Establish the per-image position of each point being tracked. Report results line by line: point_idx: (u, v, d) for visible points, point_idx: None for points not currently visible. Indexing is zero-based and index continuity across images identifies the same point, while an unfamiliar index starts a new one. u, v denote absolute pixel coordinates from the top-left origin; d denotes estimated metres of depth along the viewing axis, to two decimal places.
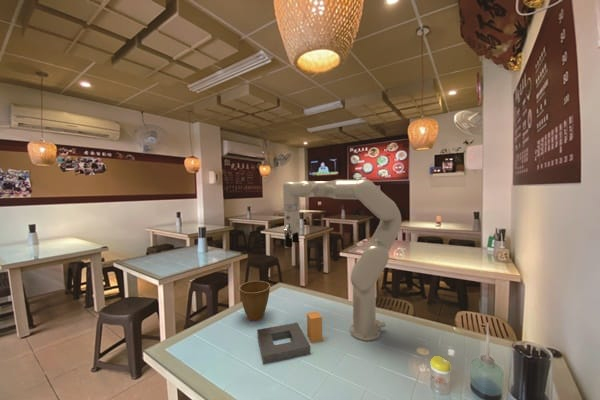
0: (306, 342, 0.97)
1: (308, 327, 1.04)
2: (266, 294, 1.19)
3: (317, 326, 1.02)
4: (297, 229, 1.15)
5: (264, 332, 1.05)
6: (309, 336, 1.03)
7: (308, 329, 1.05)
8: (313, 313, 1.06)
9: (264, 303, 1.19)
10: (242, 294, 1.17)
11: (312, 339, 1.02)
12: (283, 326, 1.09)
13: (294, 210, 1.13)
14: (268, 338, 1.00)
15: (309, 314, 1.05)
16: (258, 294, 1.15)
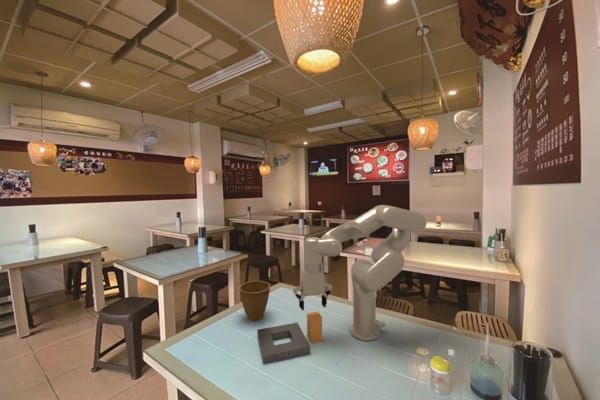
0: (306, 342, 0.97)
1: (308, 327, 1.04)
2: (266, 294, 1.19)
3: (318, 326, 1.02)
4: None
5: (264, 332, 1.05)
6: (309, 336, 1.03)
7: (308, 329, 1.05)
8: (313, 313, 1.06)
9: (264, 303, 1.19)
10: (242, 294, 1.17)
11: (312, 339, 1.02)
12: (283, 326, 1.09)
13: None
14: (268, 338, 1.00)
15: (309, 314, 1.05)
16: (258, 294, 1.15)
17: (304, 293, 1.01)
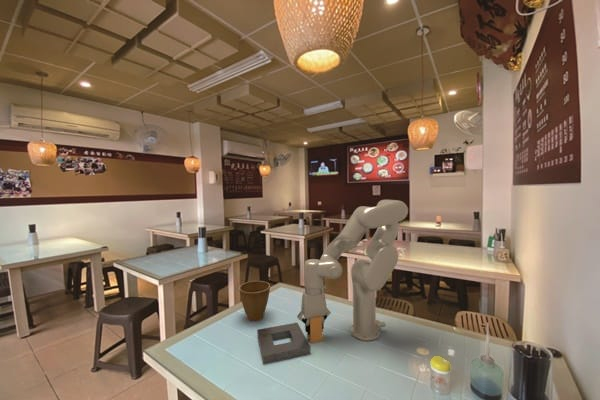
0: (306, 342, 0.97)
1: None
2: (266, 294, 1.19)
3: (317, 326, 1.02)
4: None
5: (264, 332, 1.05)
6: (309, 336, 1.03)
7: None
8: None
9: (264, 303, 1.19)
10: (242, 294, 1.17)
11: (312, 339, 1.02)
12: (283, 326, 1.09)
13: None
14: (268, 338, 1.00)
15: None
16: (258, 294, 1.15)
17: (305, 316, 1.01)
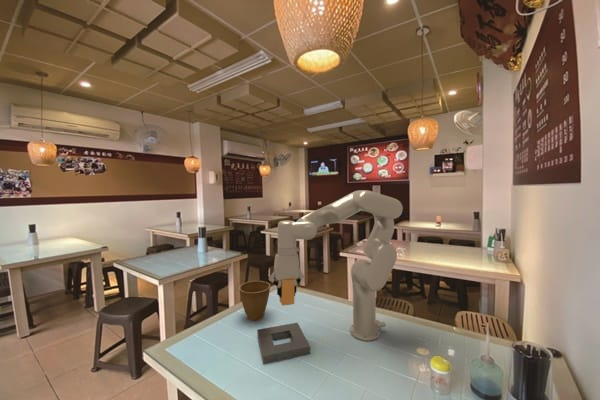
0: (306, 342, 0.97)
1: None
2: (266, 294, 1.19)
3: (289, 288, 0.98)
4: None
5: (264, 332, 1.05)
6: (281, 299, 1.00)
7: None
8: None
9: (264, 303, 1.19)
10: (242, 294, 1.17)
11: (283, 302, 0.98)
12: (283, 326, 1.09)
13: None
14: (268, 338, 1.00)
15: None
16: (258, 294, 1.15)
17: (277, 277, 0.97)
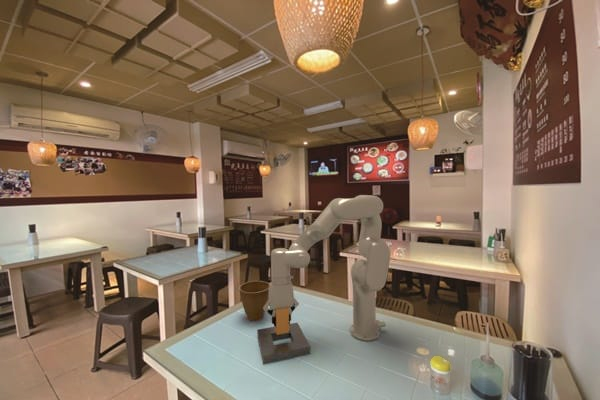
0: (306, 342, 0.97)
1: None
2: (266, 294, 1.19)
3: (284, 317, 0.98)
4: None
5: (264, 332, 1.05)
6: (275, 328, 0.99)
7: None
8: None
9: (264, 303, 1.19)
10: (242, 294, 1.17)
11: (278, 331, 0.98)
12: None
13: None
14: (268, 338, 1.00)
15: None
16: (258, 294, 1.15)
17: (271, 307, 0.97)
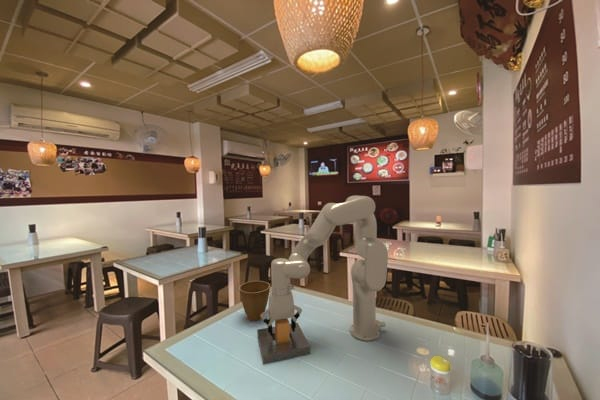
0: (306, 342, 0.97)
1: (276, 333, 1.00)
2: (266, 294, 1.19)
3: (285, 332, 0.98)
4: None
5: (264, 332, 1.05)
6: (276, 342, 1.00)
7: (275, 335, 1.01)
8: None
9: (264, 303, 1.19)
10: (242, 294, 1.17)
11: None
12: None
13: None
14: (268, 338, 1.00)
15: None
16: (258, 294, 1.15)
17: (271, 318, 0.97)
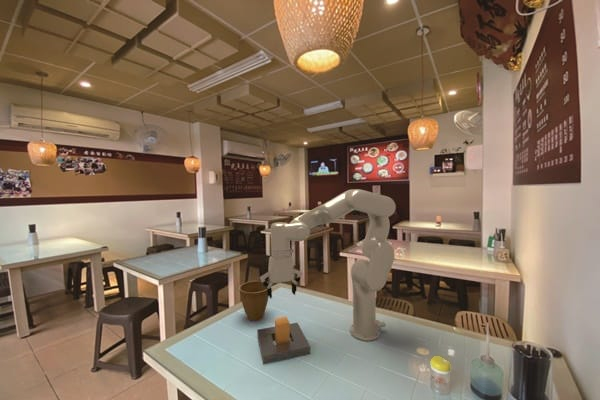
0: (306, 342, 0.97)
1: (276, 333, 1.00)
2: (266, 294, 1.19)
3: (285, 332, 0.98)
4: None
5: (264, 332, 1.05)
6: (276, 342, 1.00)
7: (275, 335, 1.01)
8: (281, 318, 1.02)
9: (264, 303, 1.19)
10: (242, 294, 1.17)
11: None
12: None
13: None
14: (268, 338, 1.00)
15: (277, 319, 1.01)
16: (258, 294, 1.15)
17: (271, 280, 0.97)
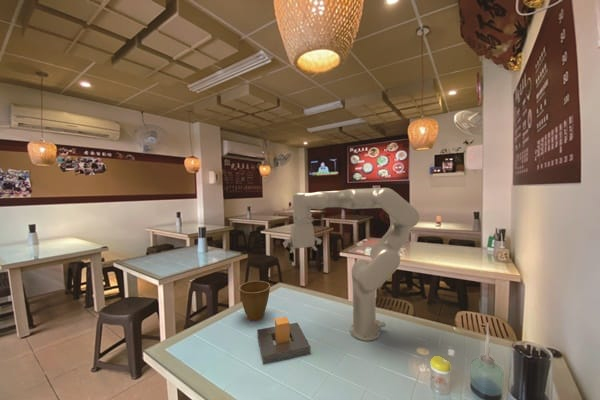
0: (306, 342, 0.97)
1: (276, 333, 1.00)
2: (266, 294, 1.19)
3: (285, 332, 0.98)
4: None
5: (264, 332, 1.05)
6: (276, 342, 1.00)
7: (275, 335, 1.01)
8: (281, 318, 1.02)
9: (264, 303, 1.19)
10: (242, 294, 1.17)
11: None
12: None
13: None
14: (268, 338, 1.00)
15: (277, 319, 1.01)
16: (258, 294, 1.15)
17: (294, 245, 1.04)
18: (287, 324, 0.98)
